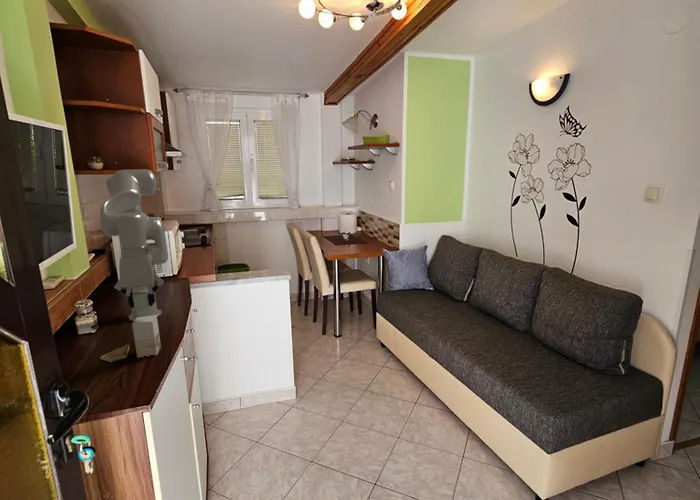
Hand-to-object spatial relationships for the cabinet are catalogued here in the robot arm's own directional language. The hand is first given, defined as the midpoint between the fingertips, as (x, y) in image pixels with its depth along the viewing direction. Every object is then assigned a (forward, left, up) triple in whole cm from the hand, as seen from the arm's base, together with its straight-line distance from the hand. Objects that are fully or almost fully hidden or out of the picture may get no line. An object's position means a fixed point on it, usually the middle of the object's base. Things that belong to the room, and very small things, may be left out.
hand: (142, 305), depth 126 cm
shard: (-2, -11, -18) cm, 21 cm away
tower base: (0, 0, -17) cm, 17 cm away
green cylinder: (0, 0, -1) cm, 1 cm away
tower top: (0, 0, -11) cm, 11 cm away
